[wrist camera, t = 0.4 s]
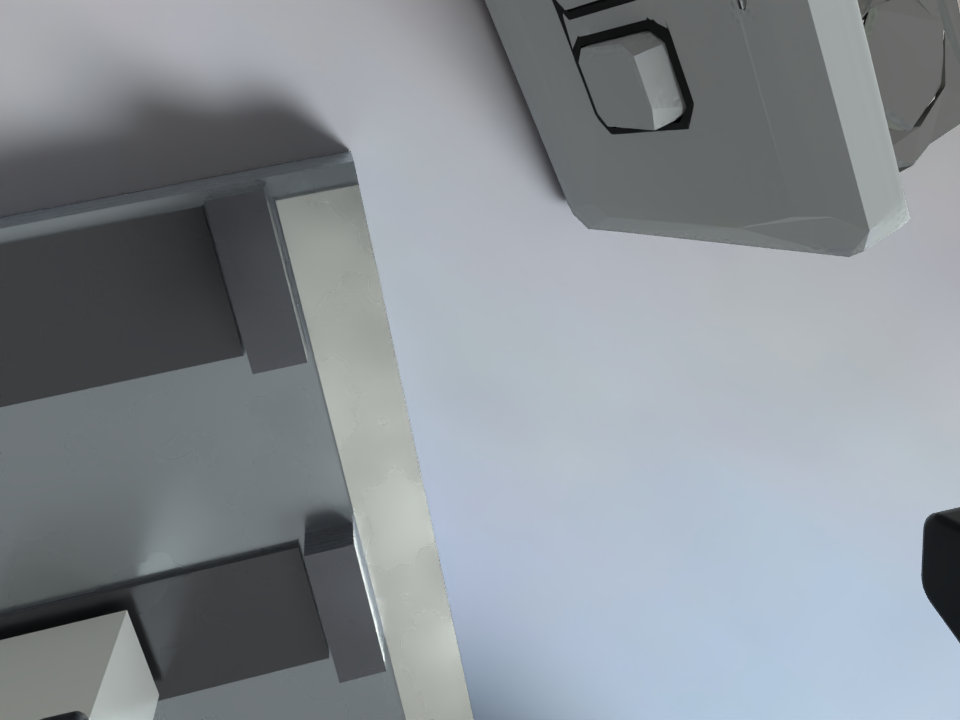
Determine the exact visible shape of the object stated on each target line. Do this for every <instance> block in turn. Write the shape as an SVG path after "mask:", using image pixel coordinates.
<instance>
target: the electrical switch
mask: <svg viewBox="0 0 960 720" xmlns="http://www.w3.org/2000/svg"><path fill="white" fill-rule="evenodd" d="M485 3H486V5H487V7H488V10H489V12H490V15H491V17H492V20H493V22H494V25H495V27H496V29H497V32H498V34H499V37H500V39H501V42H502V44H503V46H504V49H505V51H506V54H507V56H508V59H509V61H510V64H511V66H512V68H513V71H514V73H515V76H516V78H517V81H518V83H519V85H520V88H521V90H522V93H523V95H524V98H525V100H526V102H527V105H528V107H529V110H530V112H531V115H532V117H533V120H534V122H535V124H536V127H537V129H538V132H539V134H540V137H541V139H542V141H543V144H544V146H545V149H546V151H547V154H548V156H549V159H550V161H551V163H552V166H553V168H554V171H555V173H556V176H557V178H558V180H559V183H560V185H561V188H562V190H563V193H564V195H565V198H566V200H567V202H568V205H569V207H570V209H571V211H572V212H573V214H574V216H576V217H577V218H578V219H579V220H580V221H581V222H582V223H583V224H584V225H585V226H586V227H587V228H588V229H595V230H607V231H618V232H627V233H636V234H645V235H654V236H663V237H673V238H682V239H691V240H700V241H709V242H718V243H727V244H736V245H745V246H754V247H763V248H772V249H781V250H790V251H799V252H808V253H817V254H826V255H835V256H844V257H850V256H852V255H855V254H858V253H860V252H863V251H865V250H866V249H868V248H870V247H871V246H873V245H874V244H876V243H878V242H879V241H881V240H882V239H884V238H886V237H887V236H889V235H890V234H892V233H894V232H895V231H896V230H897V229H899V228H900V227H901V226H903V225H904V224H905V223H907V222H908V221H909V220H911V219H910V215H909V211H908V207H907V203H906V199H905V195H904V191H903V186H902V182H901V178H900V174H899V172H901V171H903V170H905V169H907V168H908V167H910V166H912V165H913V164H914V163H915V162H916V160H917V159H918V158H919V157H920V155H921V154H922V153H923V152H924V150H925V149H926V148H927V147H928V145H929V144H930V143H932V142H933V141H935V140H936V139H938V138H939V137H941V136H942V135H944V134H945V133H947V132H948V131H950V130H951V129H953V128H954V127H956V126H957V125H959V124H960V13H959V8H958V3H957V0H485ZM864 19H865V20H864ZM863 20H864V23H863ZM943 30H945V33H944V40H943ZM935 94H936V95H935ZM934 96H935V99H934V100H933V101H932V102H931V100H932V99H933V97H934ZM930 102H931V104H930V105H929V103H930ZM928 105H929V106H928ZM927 106H928V107H927Z"/></svg>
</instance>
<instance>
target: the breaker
mask: <svg viewBox="0 0 960 720" xmlns="http://www.w3.org/2000/svg"><path fill="white" fill-rule="evenodd" d="M158 698H159V693H158V691H157V688H156V685H155V683H154V680H153V677H152V675H151V672H150V669H149V667H148V664H147V662H146V659H145V656H144V654H143V651H142V648H141V646H140V643H139V640H138V638H137V635H136V633H135V630H134V627H133V625H132V622H131V619H130V617H129V614H128V611H127V610H124V611H120V612H116V613H112V614H108V615H103V616H99V617H95V618H91V619H87V620H83V621H78V622H74V623H70V624H66V625H62V626H57V627H53V628H49V629H45V630H41V631H37V632H32V633H28V634H24V635H20V636H16V637H12V638H7V639H3V640H0V720H40V719H43V718H46V717H51V716H55V715H59V714H64V713H68V712H72V711H80V712H82V713H84V714H85V715H86V716H87V717H88V719H89V720H153V718H154V714H155V710H156V706H157V702H158Z"/></svg>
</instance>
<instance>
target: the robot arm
mask: <svg viewBox="0 0 960 720" xmlns="http://www.w3.org/2000/svg"><path fill="white" fill-rule="evenodd" d="M921 576H922V584H923V588H924V591H925V593H926V595H927V597H928V599H929V601H930V602H931V604H932V605H933V607H934V608H935V609H936V611H937V612H938V613H939V615H940V616H941V618H942V619H943V620H944V622H945V623H946V625H947V626H948V627H949V629H950V630H951V631H952V633H953V634H954V636H955V637H956V638H957V640H958V641H959V643H960V507H959V508H954V509H950V510H945V511H941V512H937V513H933V514H931V515H930V516H929V517H927V519H926V521H925V523H924V528H923V550H922V573H921ZM40 720H89V719H88V717H87V716H86V715H85V714H84V713H82V712H80V711H72V712H68V713H64V714H59V715H55V716H51V717H46V718H43V719H40Z"/></svg>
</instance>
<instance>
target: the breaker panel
mask: <svg viewBox="0 0 960 720" xmlns="http://www.w3.org/2000/svg"><path fill="white" fill-rule="evenodd" d="M124 610H127V611H128V614H129V617H130V619H131V622H132V625H133V627H134V630H135V633H136V635H137V638H138V640H139V643H140V646H141V648H142V651H143V654H144V656H145V659H146V662H147V664H148V667H149V669H150V672H151V675H152V677H153V680H154V683H155V685H156V688H157V691H158V693H159V698H158V702H157V706H156V710H155V714H154V718H153V720H474V718H473V714H472V709H471V704H470V700H469V695H468V691H467V686H466V681H465V677H464V672H463V667H462V663H461V658H460V653H459V649H458V644H457V639H456V635H455V630H454V625H453V621H452V616H451V612H450V607H449V602H448V598H447V593H446V588H445V584H444V579H443V574H442V570H441V565H440V560H439V556H438V551H437V546H436V542H435V537H434V533H433V528H432V523H431V519H430V514H429V509H428V505H427V500H426V495H425V491H424V486H423V481H422V477H421V472H420V467H419V463H418V458H417V454H416V449H415V444H414V440H413V435H412V430H411V426H410V421H409V416H408V412H407V407H406V402H405V398H404V393H403V388H402V384H401V379H400V375H399V370H398V365H397V361H396V356H395V351H394V347H393V342H392V337H391V333H390V328H389V323H388V319H387V314H386V309H385V305H384V300H383V296H382V291H381V286H380V282H379V277H378V272H377V268H376V263H375V258H374V254H373V249H372V244H371V240H370V235H369V230H368V226H367V221H366V216H365V212H364V207H363V203H362V198H361V193H360V189H359V184H358V180H357V175H356V170H355V166H354V161H353V158H352V154H351V151H348V152H343V153H338V154H333V155H327V156H322V157H317V158H312V159H306V160H301V161H296V162H291V163H285V164H280V165H275V166H270V167H264V168H259V169H254V170H248V171H243V172H238V173H233V174H227V175H222V176H217V177H212V178H206V179H201V180H196V181H191V182H185V183H180V184H175V185H170V186H164V187H159V188H154V189H149V190H143V191H138V192H133V193H128V194H122V195H117V196H112V197H107V198H101V199H96V200H91V201H86V202H80V203H75V204H70V205H65V206H59V207H54V208H49V209H43V210H38V211H33V212H28V213H22V214H17V215H12V216H7V217H1V218H0V640H3V639H7V638H12V637H16V636H20V635H24V634H28V633H32V632H37V631H41V630H45V629H49V628H53V627H57V626H62V625H66V624H70V623H74V622H78V621H83V620H87V619H91V618H95V617H99V616H103V615H108V614H112V613H116V612H120V611H124Z"/></svg>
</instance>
